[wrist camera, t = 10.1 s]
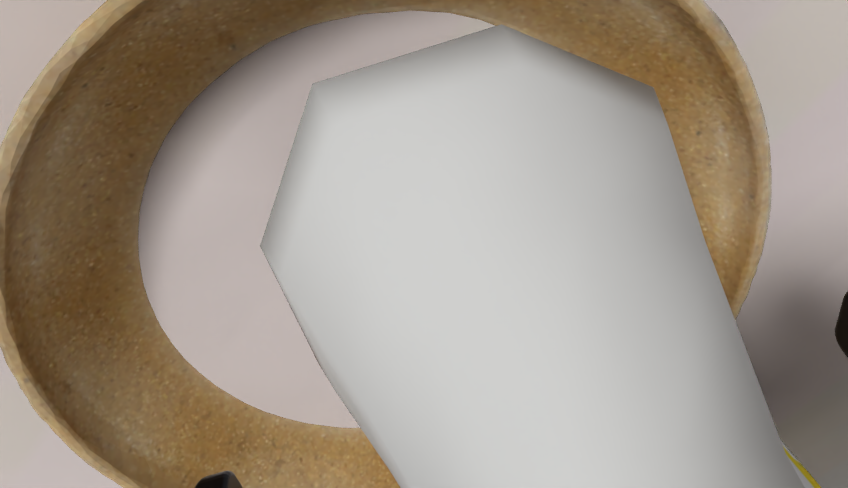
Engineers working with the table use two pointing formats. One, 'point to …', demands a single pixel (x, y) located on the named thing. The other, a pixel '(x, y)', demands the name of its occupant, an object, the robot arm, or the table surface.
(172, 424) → the plant saucer
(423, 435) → the flask
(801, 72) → the table surface
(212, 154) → the table surface
